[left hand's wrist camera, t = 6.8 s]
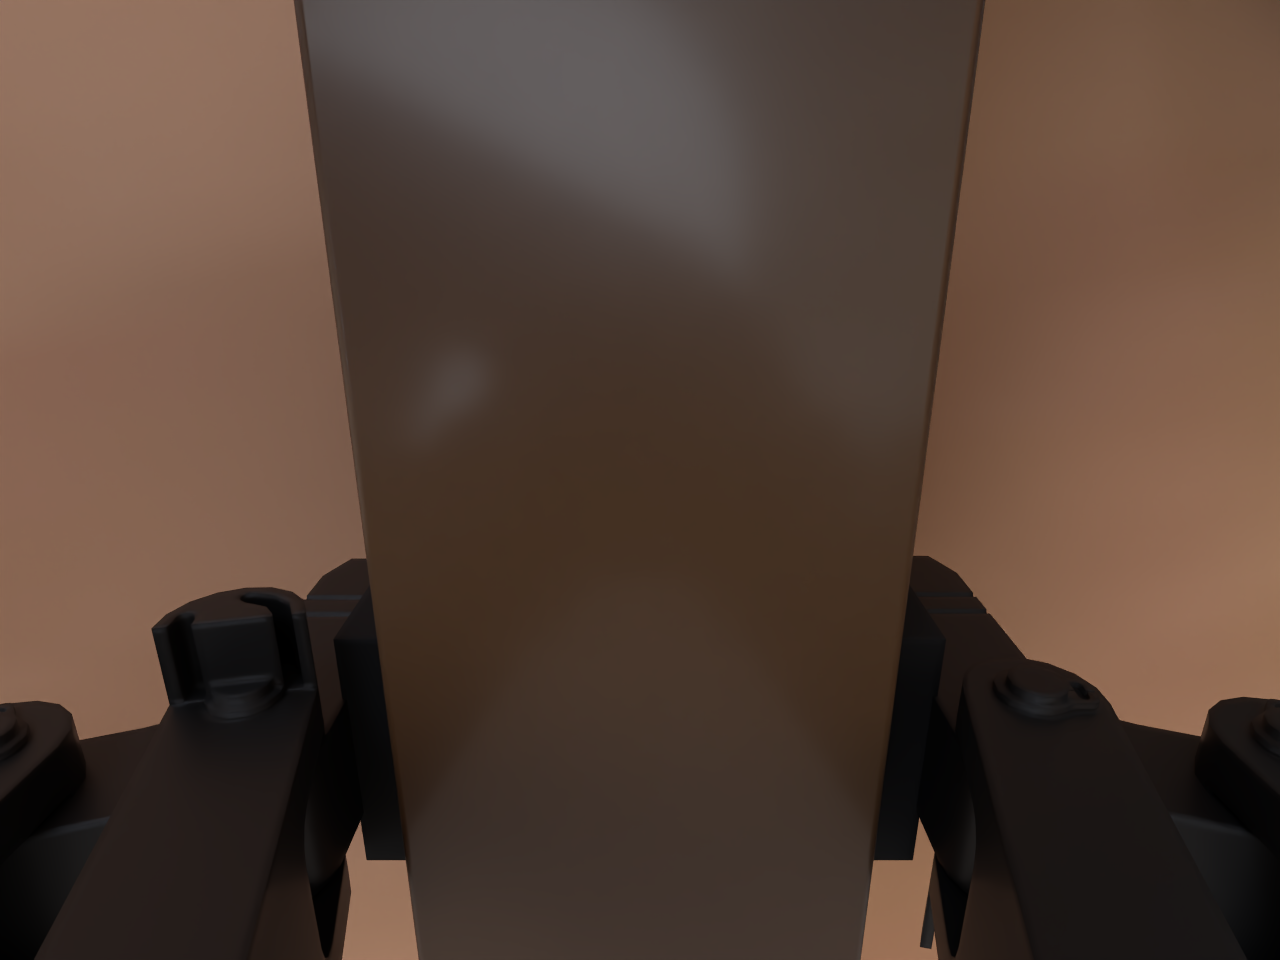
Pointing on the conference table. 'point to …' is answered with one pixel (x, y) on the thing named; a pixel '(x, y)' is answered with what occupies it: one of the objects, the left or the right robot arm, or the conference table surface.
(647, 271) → the beam
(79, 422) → the conference table surface
